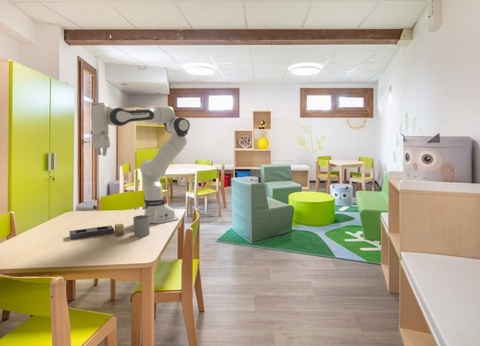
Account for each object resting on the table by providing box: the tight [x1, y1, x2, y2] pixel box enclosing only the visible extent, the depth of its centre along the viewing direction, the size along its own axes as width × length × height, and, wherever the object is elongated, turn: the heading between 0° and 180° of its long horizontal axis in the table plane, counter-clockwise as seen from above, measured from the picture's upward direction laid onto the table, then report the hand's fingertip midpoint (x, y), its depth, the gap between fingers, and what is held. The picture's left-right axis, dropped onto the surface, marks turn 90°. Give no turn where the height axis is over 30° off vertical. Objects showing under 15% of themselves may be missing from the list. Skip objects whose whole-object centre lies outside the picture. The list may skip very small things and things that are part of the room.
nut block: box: [114, 223, 125, 238], centre depth 188 cm, size 4×4×6 cm
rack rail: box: [68, 224, 115, 241], centre depth 189 cm, size 22×8×3 cm, turn 120°
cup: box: [132, 214, 151, 238], centre depth 189 cm, size 8×8×10 cm
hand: (101, 155), depth 198 cm, fingers open, 8 cm apart
